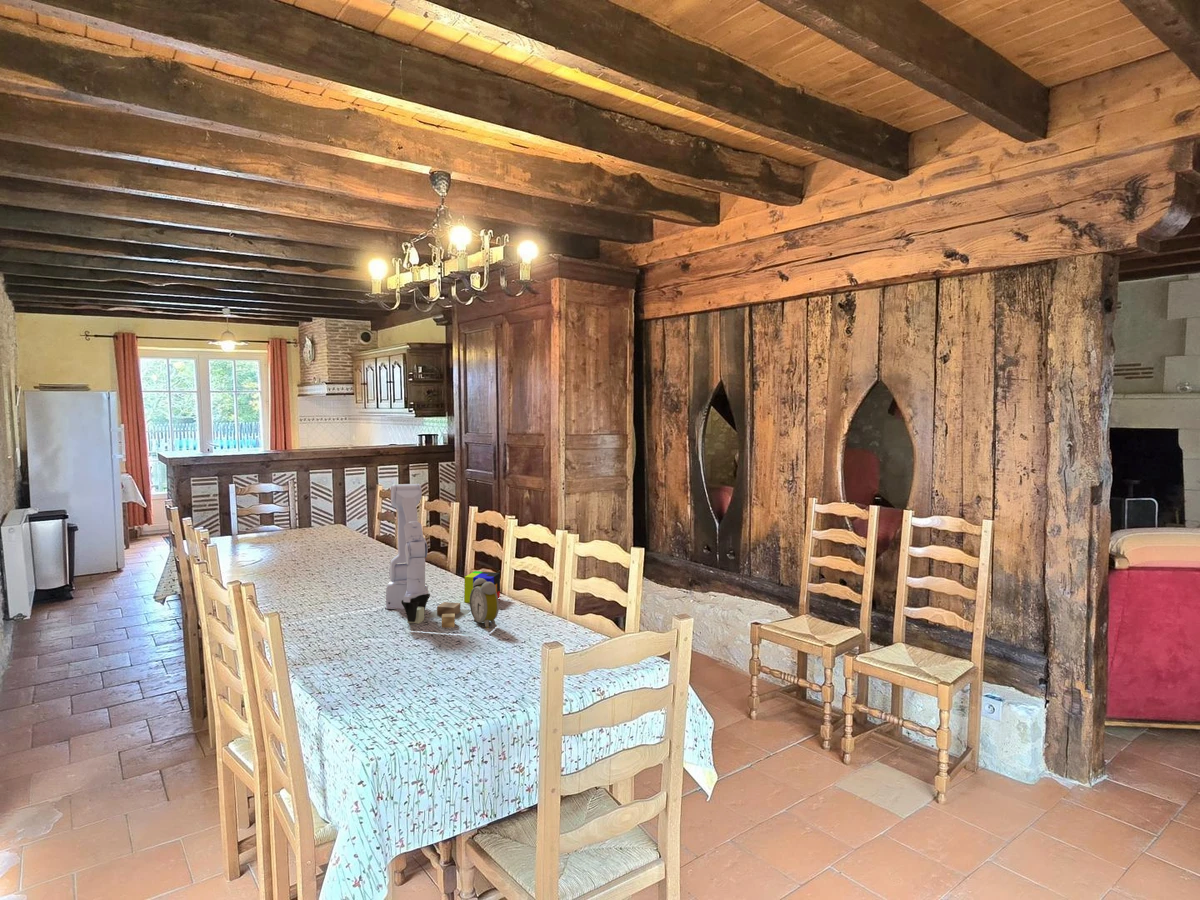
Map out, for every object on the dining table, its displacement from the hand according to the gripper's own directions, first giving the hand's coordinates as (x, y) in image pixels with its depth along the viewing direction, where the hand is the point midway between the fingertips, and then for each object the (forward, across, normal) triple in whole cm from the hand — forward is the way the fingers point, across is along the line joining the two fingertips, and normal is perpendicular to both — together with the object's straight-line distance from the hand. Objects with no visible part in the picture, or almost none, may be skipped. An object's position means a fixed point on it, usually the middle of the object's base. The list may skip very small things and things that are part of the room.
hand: (415, 618), depth 232 cm
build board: (+1, +11, -7) cm, 13 cm away
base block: (+1, +11, -7) cm, 13 cm away
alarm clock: (+2, +3, -23) cm, 23 cm away
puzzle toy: (+2, +31, -12) cm, 33 cm away
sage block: (+2, 0, 0) cm, 2 cm away
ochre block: (+2, -2, -12) cm, 12 cm away
